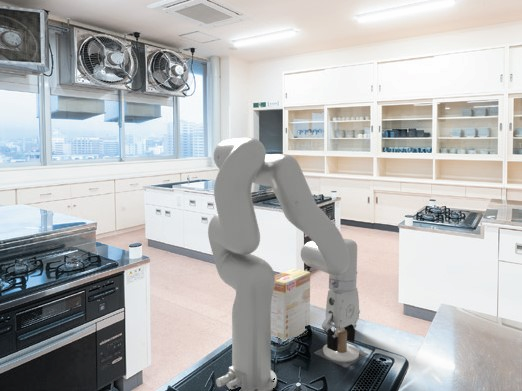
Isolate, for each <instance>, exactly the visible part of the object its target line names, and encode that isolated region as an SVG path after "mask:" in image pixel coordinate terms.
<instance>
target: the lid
mask: <svg viewBox="0 0 522 391" xmlns="http://www.w3.org/2000/svg"><path fill="white" fill-rule="evenodd" d="M336 337H338V350H337V351H333V350H331V349H329V348H327V343H326V344H325V345H323V347H322V348H323V354H324V355H325V356H326V357H327V358H328V359H330V360H333V361H337V362H352V361H355V360H357V359H358V357H359V350H360V349H359V348H358V347H356V346H355V345H353V344H351V343H348V340H347V331H346V330H344V329H338V332H337V336H336ZM330 360H329V361H330Z"/></svg>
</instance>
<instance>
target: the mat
mask: <svg viewBox="0 0 522 391" xmlns="http://www.w3.org/2000/svg"><path fill="white" fill-rule="evenodd" d="M358 350H359V357H358V359H357V360H355V361H352V362H337V361H333V360H330V359H328V358H327V357H326V356H325V355H324V354H323V347H321V348H320V349H318V350H316V351H314V352H313V354H315V355H317V356H319V357H321V358H323V359H325V360H327V361H330V362H331V363H334V364H336V365H338V366H340V367H343V368H347V367H349V366H351V365H353V364H355V363H356V362H358V361H359V360H361V359H363V358H365V357H367V356H368V355H369V353H367V352H364V351H362V350H360V349H358Z"/></svg>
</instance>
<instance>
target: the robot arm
mask: <svg viewBox="0 0 522 391" xmlns="http://www.w3.org/2000/svg"><path fill="white" fill-rule="evenodd" d="M213 160H214V164H215V165H216V167H217V168H218V169H219V170H218V173H217V175H216V177H215V182H214V187H213V196H214V202H215V208H216V212H217V213H216V214H214V215H213V217H211V219H210V221H209V223H208V227H207V228H208V229H207V237H208V240H209V245H210V249H211V253H212V255H213V259H214V264H215V267H216V270H217V273H218V274H217V275H218V276H219V277H220V279H221V280H222V281H223V282H224V283H225V284H226V285H227V286H229V287H231V288H232V289H234V290H235V298H234V301H233V304H232V311H231V345H232V346H231V351H232V352H231V362H232V363H231V366H229V367H228V372H226V374H225V375H222V376H221V377H218V378H216V379H215V384H216V387H217V388H221V387H223V386H225V385H226V387H227V388H228V390H230V389H233V388H236V387H241V389H240V390H239V391H273V390H274V389H275V388H276V386H277V382H278V376H277V374H276V373H275V372H274V371H273V370H272V369H271V368H272V367H271V365H272V360H271V359H272V355H271V354H272V351H271V350H272V347H271V346H272V345H271V344H272V342H271V303H272V296H273V291H274V285H275V276H276V275H275V272H274V269H273V267H272V266H271V264H270V263H268V262H267V261H266V260H265V259H263V258H261V257H259V256H256V255H254V254H252V253H254V252H256V250H257V249H258V248H259V246H260V243H261V233H260V228H259V224H258V221H257V220H258V219H257V216H256V212H255V208H254V204H253V203H254V202H253V198H252V186H253V184H256V185H259V186H264V187H269V188H270V187H271V189H272V190H273V192H274V196H275V197H276V199H277V201H278V203H279V205H280V207H281V210H282V213H283V215H284V216H285V218H286V219H287V221H288V222H290V223H291V224H292V225H293V226H294V227H295V228H297V229H298V230H300V231H301V232H302V233H304V234H305V235H306V236H308V237H309V239H310V241H308V242H306V243H304V244H303V246H302V248H301V250H300V257H301V260H302V262H303V263H304V264H305V265H307V267H311V268H313V269H315V270H317V271H321V272H324V273H326V274H328V290H327V291H328V292H327V297H326V305H325V319H323V322H322V324H321V328H322V329H323V331H324V333H325V334H326V336H327V338H326V344H327V348H329V349H331V350H333V351H337V350H338V337H336V336H337V332H338V329H342V328H344V327H345V330H346V331H347V342H348V341H349V342H351V343H355V342H356V341H355V340H356V338H355V337H356V328H357V321H358V320H359V319H360V313H361V310H360V297H359V290H358V287H357V276H358V275H357V274H358V270H357V268H358V266H357V265H358V244H357V242H356V241H354V240H352V239H348V238H344V237H343V236H342V234H341V231H340V230H339V229H338V227H337V225H335V223H334V222H333V221H332V220H331V219H330V218H329V217H328V215H327V214H326V213H325V212H324V211H323V210H322V209H321V208H320V206H318V204H317V202H316V200H315V198H314V196H313V193H312V191H311V188H310V186H309V184H308V182H307V180H306V178H305V176H304V173H303V170H302V168H301V166H300V164H299V162H298V160H297V159H296V158H295V157H294V156H293V155H290V154H285V153H267V151H266V148H265V146H264V144H263V143H262V142H261V141H260V140H259V139H257V138H255V137H237V138H229V139H225V140H222V141H221V142H219V143H218V144H217V145H216V147H215V148H214V151H213ZM332 328H333V329H332ZM354 328H355V329H354ZM274 378H275V380H273V379H274ZM273 381H274V382H273ZM273 388H274V389H273Z"/></svg>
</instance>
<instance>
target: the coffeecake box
mask: <svg viewBox="0 0 522 391" xmlns="http://www.w3.org/2000/svg"><path fill="white" fill-rule="evenodd" d="M310 308H311V271H306V270H302V269H299V268H291V269H289V270H286V271H284V272H281V273H278V274H276V275H275V285H274V291H273V296H272V303H271V336H274V337H278V338H280V339H282V340H286V339H289V338H292V337H297V336H299V335H300V334H302V333H303V332H304V331H305V330H306V329H305V326H306V325H310V321H311V318H310V317H311V316H310V315H311V314H310V313H311V310H310ZM310 326H311V325H310ZM299 337H300V336H299Z"/></svg>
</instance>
